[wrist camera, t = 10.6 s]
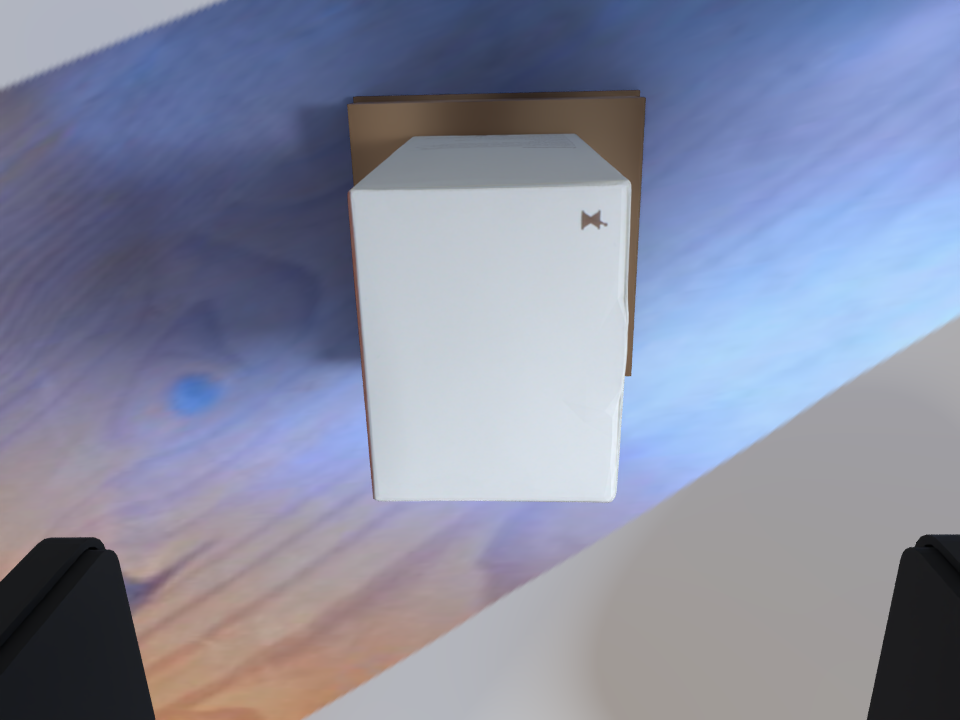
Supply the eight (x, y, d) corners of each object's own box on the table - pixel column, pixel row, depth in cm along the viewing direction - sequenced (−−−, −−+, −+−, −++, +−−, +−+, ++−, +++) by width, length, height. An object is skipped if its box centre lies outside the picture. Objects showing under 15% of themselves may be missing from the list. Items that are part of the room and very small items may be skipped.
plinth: (637, 90, 30) (651, 91, 28) (624, 355, 34) (635, 380, 32) (355, 96, 31) (341, 99, 28) (375, 358, 35) (364, 383, 32)
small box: (409, 134, 28) (342, 180, 16) (579, 131, 28) (640, 175, 16) (420, 338, 31) (369, 508, 19) (574, 336, 31) (623, 506, 19)
